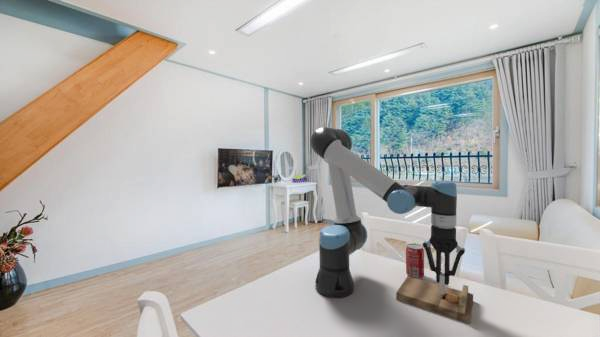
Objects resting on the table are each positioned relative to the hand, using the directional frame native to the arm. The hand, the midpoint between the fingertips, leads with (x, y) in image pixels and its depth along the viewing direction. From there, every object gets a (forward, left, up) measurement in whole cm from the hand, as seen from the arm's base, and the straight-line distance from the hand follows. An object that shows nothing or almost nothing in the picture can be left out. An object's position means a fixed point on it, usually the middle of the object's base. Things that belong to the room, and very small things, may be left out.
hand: (442, 292), depth 86 cm
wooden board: (-3, 0, -4) cm, 4 cm away
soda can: (-13, +16, -4) cm, 20 cm away
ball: (+3, 0, -2) cm, 3 cm away
